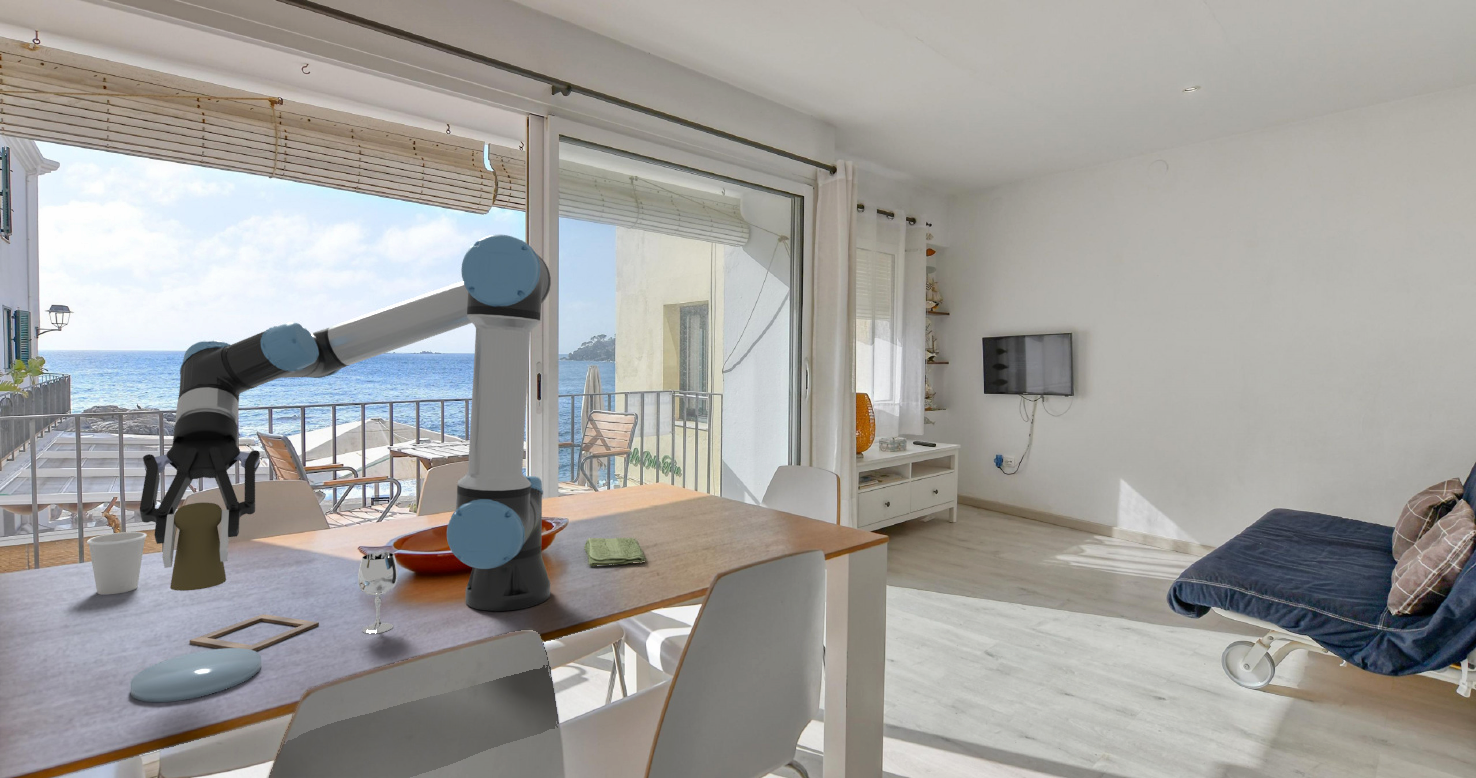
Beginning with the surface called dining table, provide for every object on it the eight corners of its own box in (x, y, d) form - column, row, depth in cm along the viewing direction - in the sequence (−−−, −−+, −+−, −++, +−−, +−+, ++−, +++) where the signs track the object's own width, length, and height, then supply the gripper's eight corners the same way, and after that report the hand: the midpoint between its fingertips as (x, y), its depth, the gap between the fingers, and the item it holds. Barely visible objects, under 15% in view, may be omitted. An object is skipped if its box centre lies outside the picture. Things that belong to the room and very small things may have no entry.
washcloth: (587, 570, 149) (588, 555, 149) (583, 549, 166) (583, 536, 166) (647, 567, 152) (648, 552, 152) (637, 547, 169) (637, 534, 169)
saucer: (285, 663, 99) (285, 655, 99) (182, 709, 85) (182, 699, 85) (212, 650, 102) (212, 642, 102) (103, 692, 89) (103, 683, 89)
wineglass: (387, 619, 116) (388, 549, 116) (403, 627, 113) (404, 555, 113) (351, 628, 112) (352, 556, 112) (366, 638, 108) (367, 562, 108)
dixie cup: (156, 586, 131) (156, 534, 131) (101, 599, 123) (100, 544, 123) (132, 580, 134) (132, 529, 134) (77, 592, 127) (77, 538, 127)
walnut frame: (319, 625, 113) (319, 622, 113) (249, 653, 102) (249, 650, 102) (263, 616, 117) (263, 613, 117) (189, 643, 105) (189, 639, 105)
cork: (195, 592, 90) (195, 509, 90) (158, 588, 91) (157, 506, 91) (237, 578, 96) (237, 500, 96) (202, 575, 97) (202, 498, 97)
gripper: (279, 438, 111) (278, 564, 98) (130, 443, 101) (107, 584, 88) (279, 407, 106) (278, 535, 93) (123, 409, 96) (98, 552, 83)
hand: (195, 558), depth 90 cm, fingers closed on cork, 5 cm apart
